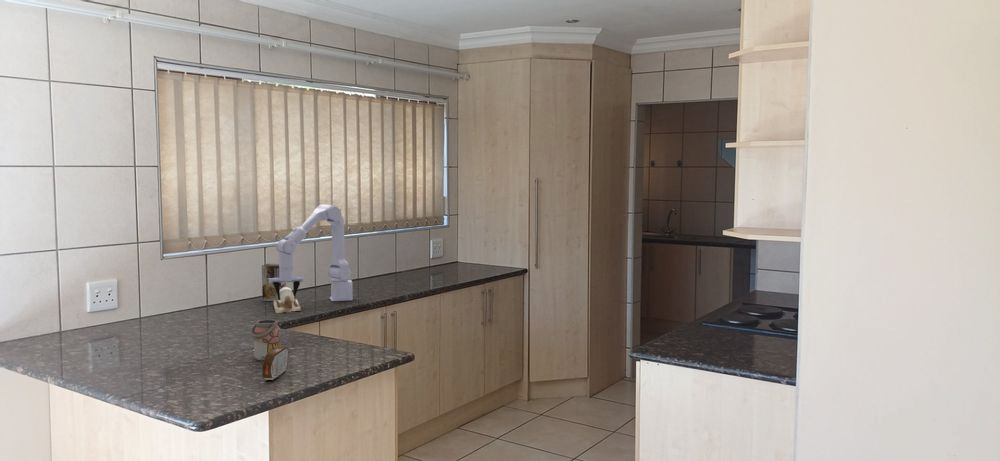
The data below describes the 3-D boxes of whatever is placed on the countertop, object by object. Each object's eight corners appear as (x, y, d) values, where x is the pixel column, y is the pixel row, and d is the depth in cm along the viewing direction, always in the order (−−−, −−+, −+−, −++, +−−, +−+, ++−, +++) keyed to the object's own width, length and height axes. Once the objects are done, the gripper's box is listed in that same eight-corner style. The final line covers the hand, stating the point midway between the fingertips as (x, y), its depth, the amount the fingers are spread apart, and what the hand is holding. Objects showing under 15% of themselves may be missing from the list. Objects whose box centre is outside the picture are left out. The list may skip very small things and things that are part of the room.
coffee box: (286, 298, 333) (286, 263, 331) (281, 301, 327) (280, 265, 325) (267, 298, 334) (267, 263, 332) (261, 300, 328) (261, 265, 326)
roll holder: (296, 302, 325) (296, 292, 325) (300, 311, 306) (300, 301, 306) (273, 303, 322) (273, 293, 321) (275, 313, 303) (275, 302, 302)
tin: (280, 369, 224) (280, 342, 223) (290, 369, 224) (290, 342, 223) (261, 384, 209) (260, 355, 208) (271, 384, 209) (271, 356, 208)
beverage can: (263, 364, 229) (262, 326, 228) (245, 359, 233) (244, 322, 232) (286, 357, 237) (285, 321, 236) (268, 353, 241) (268, 317, 240)
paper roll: (292, 299, 321) (292, 286, 320) (294, 305, 309) (294, 291, 308) (278, 299, 319) (278, 287, 318) (280, 305, 307) (280, 292, 306)
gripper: (268, 269, 306) (269, 301, 307) (304, 268, 311) (304, 300, 312) (268, 267, 313) (268, 298, 314) (303, 266, 318) (303, 297, 319)
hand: (286, 299), depth 314 cm, fingers closed on paper roll, 6 cm apart
